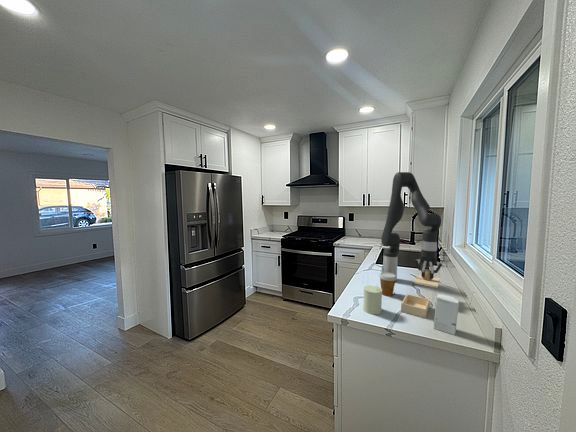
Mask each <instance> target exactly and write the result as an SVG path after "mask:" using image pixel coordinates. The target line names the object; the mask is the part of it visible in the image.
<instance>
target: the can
mask: <svg viewBox="0 0 576 432" xmlns="http://www.w3.org/2000/svg"><path fill="white" fill-rule="evenodd" d="M382 297H383V294H382V289H381V287H379V286H377V285H365V286H363V307H362V309H363V311H364V312H365V313H367V314H370V315H380V314H382V312H383V311H382V310H383V309H382V299H383V298H382Z"/></svg>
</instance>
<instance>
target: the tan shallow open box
mask: <svg viewBox="0 0 576 432" xmlns="http://www.w3.org/2000/svg"><path fill="white" fill-rule="evenodd" d="M400 306H401V307H400V312H401V313H404V314H408V315H410V316H411V315H412V316H415V317H418V318H419V317H420V318H422V319H426V317H427V314H428V312H429V308H430V299H429V298H425V297H421V296H417V295H414V294H413V295H412V294H407V293H406V294H405V295H404V298H403V299H402V301H401V305H400Z"/></svg>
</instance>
